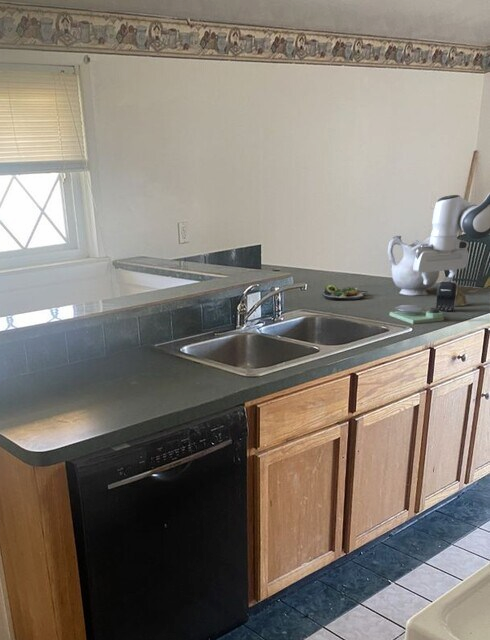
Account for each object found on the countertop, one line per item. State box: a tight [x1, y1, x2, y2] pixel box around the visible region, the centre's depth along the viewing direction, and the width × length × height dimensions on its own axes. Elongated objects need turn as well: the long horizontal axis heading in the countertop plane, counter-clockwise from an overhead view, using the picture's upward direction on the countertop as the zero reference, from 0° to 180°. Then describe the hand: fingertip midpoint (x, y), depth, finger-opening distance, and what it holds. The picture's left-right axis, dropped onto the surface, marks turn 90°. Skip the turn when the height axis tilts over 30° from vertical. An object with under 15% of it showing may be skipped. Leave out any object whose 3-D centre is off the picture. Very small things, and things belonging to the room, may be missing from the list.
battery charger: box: [435, 280, 458, 313], centre depth 252 cm, size 7×4×11 cm, turn 54°
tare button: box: [429, 307, 439, 313], centre depth 241 cm, size 3×3×2 cm
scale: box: [389, 309, 445, 325], centre depth 246 cm, size 15×14×3 cm
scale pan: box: [395, 304, 425, 312], centre depth 247 cm, size 10×10×1 cm
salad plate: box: [321, 283, 369, 301], centre depth 286 cm, size 19×18×5 cm
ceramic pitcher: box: [387, 235, 440, 296], centre depth 283 cm, size 22×20×25 cm
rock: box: [452, 280, 468, 307], centre depth 261 cm, size 11×9×10 cm
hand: (437, 283), depth 237 cm, fingers open, 8 cm apart
